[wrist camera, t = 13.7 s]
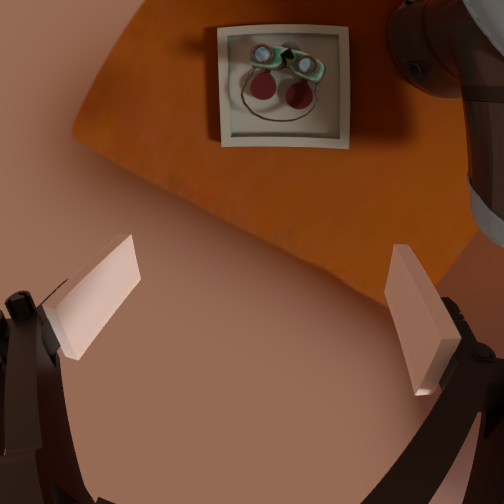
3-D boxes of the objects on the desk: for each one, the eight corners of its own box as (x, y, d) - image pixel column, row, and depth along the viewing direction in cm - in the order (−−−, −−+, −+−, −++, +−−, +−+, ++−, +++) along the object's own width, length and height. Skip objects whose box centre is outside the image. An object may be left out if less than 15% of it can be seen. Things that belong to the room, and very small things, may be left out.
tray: (345, 31, 31) (348, 26, 29) (346, 146, 38) (349, 149, 36) (222, 32, 33) (217, 28, 31) (226, 144, 41) (221, 146, 38)
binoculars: (222, 120, 29) (244, 26, 23) (243, 108, 38) (261, 38, 32) (310, 144, 29) (338, 49, 23) (310, 126, 38) (331, 56, 32)
